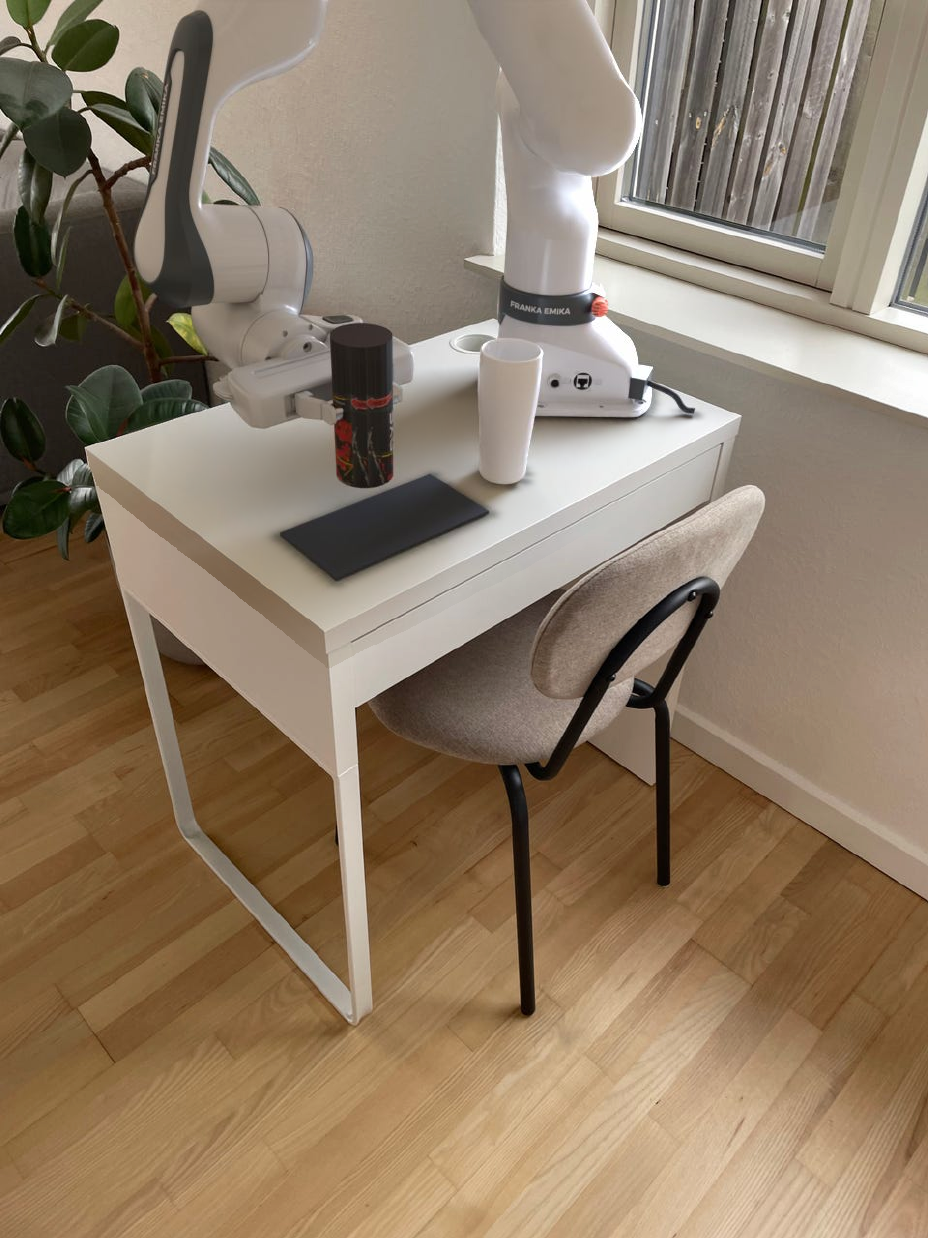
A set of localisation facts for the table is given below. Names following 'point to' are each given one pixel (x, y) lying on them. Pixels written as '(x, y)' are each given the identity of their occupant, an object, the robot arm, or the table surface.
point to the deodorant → (363, 403)
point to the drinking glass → (507, 406)
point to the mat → (382, 525)
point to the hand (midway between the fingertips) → (368, 406)
